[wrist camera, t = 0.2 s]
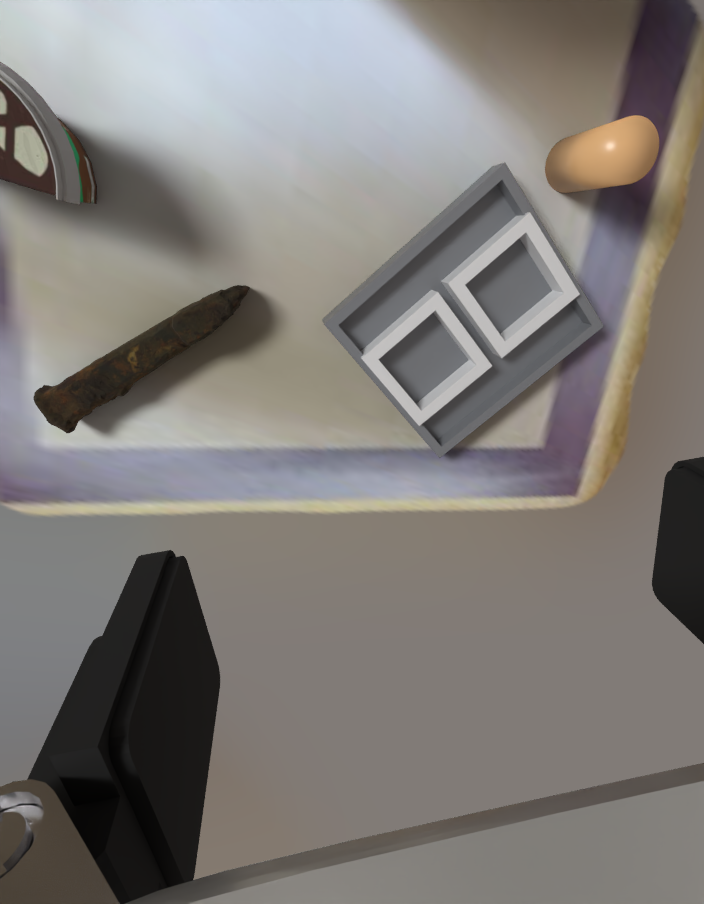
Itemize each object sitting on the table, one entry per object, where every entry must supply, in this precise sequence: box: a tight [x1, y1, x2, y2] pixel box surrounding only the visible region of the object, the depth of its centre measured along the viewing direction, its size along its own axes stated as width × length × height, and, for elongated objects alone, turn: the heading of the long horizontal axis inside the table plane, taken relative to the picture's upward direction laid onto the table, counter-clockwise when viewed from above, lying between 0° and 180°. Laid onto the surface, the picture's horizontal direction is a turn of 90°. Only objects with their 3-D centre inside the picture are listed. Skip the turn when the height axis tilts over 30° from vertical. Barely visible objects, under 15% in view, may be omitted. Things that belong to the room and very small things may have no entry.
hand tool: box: [34, 285, 250, 433], centre depth 42 cm, size 19×4×5 cm, turn 117°
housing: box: [322, 163, 604, 458], centre depth 44 cm, size 16×18×3 cm
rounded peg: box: [545, 115, 659, 193], centre depth 38 cm, size 4×4×8 cm
